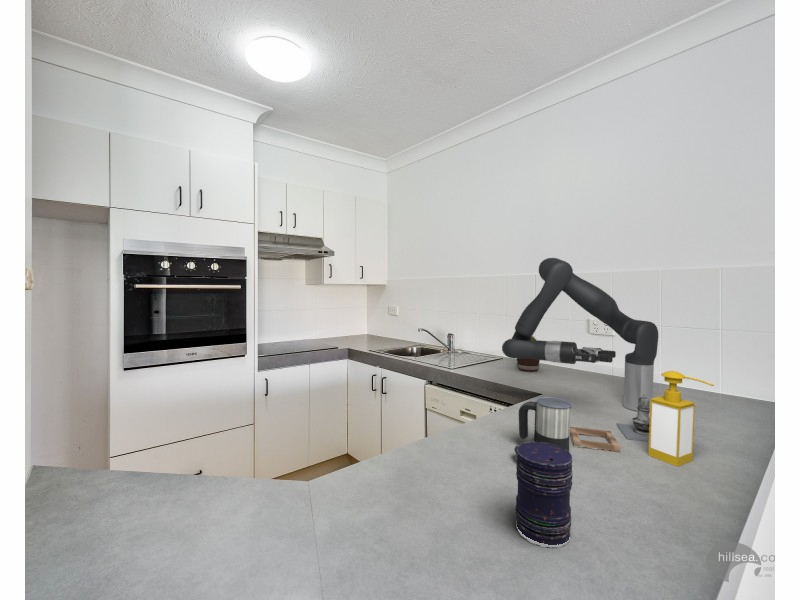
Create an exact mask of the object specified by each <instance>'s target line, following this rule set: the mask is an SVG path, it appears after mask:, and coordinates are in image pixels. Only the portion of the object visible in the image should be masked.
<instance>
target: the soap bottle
mask: <svg viewBox="0 0 800 600" xmlns="http://www.w3.org/2000/svg"><path fill="white" fill-rule="evenodd" d="M660 375H661V376H662V377H663V378H664V379H663V381H664V382H665V383H666V382H667V383H668V384H669V387H668V388H667V389H664V395H661V396H657V397H653V398H652V399H650V400H651V401H650V411H649V418H650V426H649V442H648V452H647V453H648V456H649V457H651V458H655V459H657V460H659V461H662V462H665V463H667V464H670V465H673V466H675V467H681V466H682V465H685V464H688V463H691V462H693V461H694V459H693V458H694V436H695V435H694V433H695V411H696V409H695V408H696V402H695V401H690V400H686V399H682V391H680V390H677V387H678V386H677V384H678V385H679V384H682V383H683V380H684V379H685V380H686V379H687V380H692V381H697V382H700V383H703V384H706V385H709V386H711V387H714V386H715V384H714V383H711V382H708V381H705V380H701V379H698V378H694V377H690V376H686V375H684V374H683V373H681V372H679V371H676V370H675V371H674V370H668V371H664V372H662V373H661V374H660Z"/></svg>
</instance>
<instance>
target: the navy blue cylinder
mask: <svg viewBox="0 0 800 600" xmlns="http://www.w3.org/2000/svg"><path fill="white" fill-rule="evenodd" d="M517 446H518V448H517V454H516V467H515V468H516V473H515V475H516V480H517V494H516V496H515V508H514V509H515V512H514V513H515V522H516V521H517V527H518V529H519V530H520V531H521V532H522V534H524V535H525V536H526V537H528V538H530V539H532V540H534V541H537V542H539V543H544V544H548V545H557V544H558V545H559V544H563V543H565V542H567V541H568V540H569V537H570V538H571V527H572V507H571V505H570V503H571V502H570V501H571V499H570V498H571V490H572V487H573V481H572V480H573V455H572V453H570V451H569V452H568V451H567V450H565V449H563V448H561V447H559V446H556V445H552V444H548V443H542V442H534V441H531V442H529V441H528V442H523V443H521V444H519V445H517Z"/></svg>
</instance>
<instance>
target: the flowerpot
mask: <svg viewBox="0 0 800 600" xmlns="http://www.w3.org/2000/svg"><path fill="white" fill-rule="evenodd" d="M534 340H537V338H536V337H535V336H534V334H533V335H532V338H531V341H534ZM516 361H517V362H516V367H517V369H518V370H519V371H520V372H521V371H522V372H528V373H529V372H531V373H532V372H535V373H536V372H538V370H539V369H540V361H541V360H536V359H517V358H516Z"/></svg>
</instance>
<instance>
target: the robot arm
mask: <svg viewBox="0 0 800 600" xmlns="http://www.w3.org/2000/svg"><path fill="white" fill-rule="evenodd" d="M573 271H574V269H573V267H572V265H571V264H570V263H569V262H567V261H566V260H562V259H560V258H557V257H548V258H545V259H543V260H542V261H541V262H540V263H539V266H538V274H539V276H540V278H541V280H542V281H544V283H543V285H542V287H541V290H540V291H539V293H538V294H537V296H536V297H534V298H533V300H532V301H530V303H528V304H527V306H525V307H524V309H523V310H522V312H521V315H520V316H519V318H518V320H517V322H516V323H515V325H514V330H515V331H514V333H513V336H512V337H511V338H509V339H507V340H505V341H504V342H503V343H502V346H501V350H502V353H503V354H504V356H506V357H507V358H510V359H516V360H517V359H536V360H540V361H545V362H552V363H557V364H559V363H560V364H567V365H575V364H576V362H581V363H583V362H584V363H592V364H596V363H598V362H601V363H613V359H615V358H616V356H617V355H616V354H617V353H616V350H608V349H607V350H605V349H602V348H601V347H587V346H583V347H582V348H578V345H577V343H576V342H574V341H565V340H564V341H562V340H560V341H559V340H538V339H536V340H534V341H531V338H532V337H533V336H534V334H535V332H536V331H537V329H538V327H539V326H540V323H541V321H542V320H543V318H544V315H545V314H546V313H547V312H548V310H549V309H550V307H551V305H552V304H553V303H554V302H555V300H556V299H557V297H558V296H560V295H561V293H562V292H563V293H564V294H566V295H567V296H568V297H569V298H570V299H572V300H573V301H574V303H576V304H577V305H578V306H579V307H581V308H582V309H583V310H584V311H586V312H587V313H589V315H592V316H593V317H595V318H596V319H597V320H599V321H600V322H601V323H604V324H605V325H606V326H608V327H609V328H610V329H611V330H612V331H614V332H615V333H616V334H617V335H618V336H619V337H620V338H621V339H622V340H624V341H625V342H627V343H628V344H633V345H634V350H633V351H632V352H629V353H626V354H625V355H624V356H625V357H624V382H623V383H624V384H623V407H624V408H625V409H628V410H631V411H636V412H638V409H637V407H638V399H639V397H642V396H643V394H644V395H645V397H646V398H648V399H649V409H650V401H651V400H650V399H652V398H654V371H655V370H654V369H655V359H656V357H657V354H658V345H659V329H658V326H657V325H656V324H655V323H654V322H652V321H648V320H641V319H634V318H631V317H630V316H628V315H626V314H625V313H624V312H622V311H621V310H620V309H619V306H618V304H617V301H616V300H615V299H614V298H613V297H612V296H611V295H609V293H607V292H605V291H604V290H603V289H602V288H599V287H598V286H596V285H595V284H593V283H591V282H589V281H587V280H585V279H583V278H581V277H579V276H578V275H576V274H575V273H574V272H573ZM532 335H533V336H532Z"/></svg>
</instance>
